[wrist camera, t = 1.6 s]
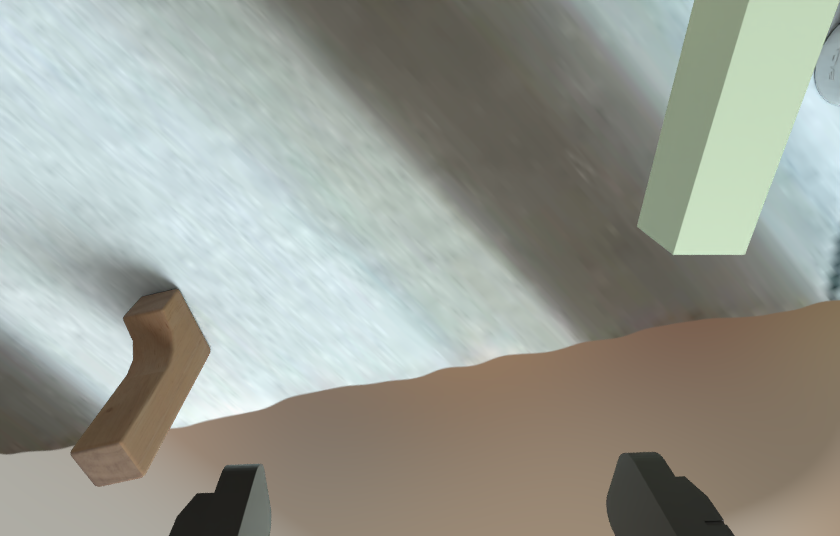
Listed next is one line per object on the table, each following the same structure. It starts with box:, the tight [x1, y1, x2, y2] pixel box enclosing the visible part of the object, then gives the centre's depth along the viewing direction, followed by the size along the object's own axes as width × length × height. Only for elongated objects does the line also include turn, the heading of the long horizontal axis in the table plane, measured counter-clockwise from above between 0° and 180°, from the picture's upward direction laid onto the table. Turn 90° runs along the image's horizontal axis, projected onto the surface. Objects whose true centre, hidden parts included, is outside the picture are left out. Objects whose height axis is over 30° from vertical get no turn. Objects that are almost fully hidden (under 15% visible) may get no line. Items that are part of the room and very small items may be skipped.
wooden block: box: [71, 289, 210, 487], centre depth 46 cm, size 9×4×18 cm, turn 12°
